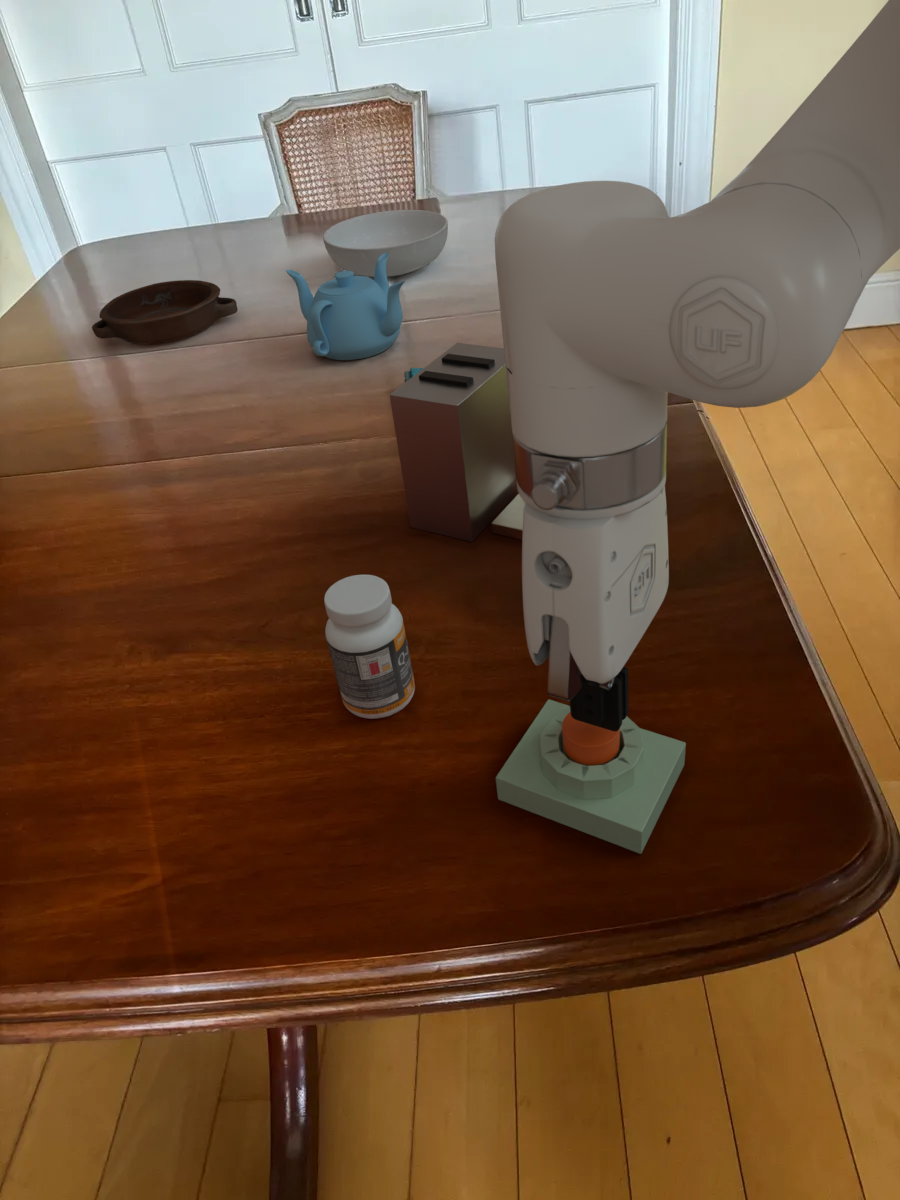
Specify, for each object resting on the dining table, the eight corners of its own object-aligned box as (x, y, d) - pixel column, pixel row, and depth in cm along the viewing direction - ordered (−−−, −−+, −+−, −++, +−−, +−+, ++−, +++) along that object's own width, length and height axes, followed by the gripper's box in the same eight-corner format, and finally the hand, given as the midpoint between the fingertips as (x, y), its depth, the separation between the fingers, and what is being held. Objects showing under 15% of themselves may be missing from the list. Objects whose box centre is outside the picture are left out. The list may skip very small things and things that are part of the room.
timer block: (684, 765, 60) (687, 723, 58) (641, 854, 55) (642, 812, 53) (549, 720, 65) (547, 680, 62) (497, 799, 60) (493, 758, 57)
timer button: (627, 734, 58) (628, 715, 57) (606, 773, 56) (606, 753, 55) (576, 718, 60) (576, 699, 59) (553, 754, 57) (552, 735, 56)
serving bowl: (313, 292, 147) (304, 249, 142) (352, 252, 162) (345, 212, 158) (435, 289, 142) (430, 244, 137) (463, 247, 157) (459, 206, 153)
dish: (99, 325, 145) (88, 295, 142) (235, 299, 148) (227, 268, 145) (95, 364, 131) (83, 331, 128) (244, 334, 135) (236, 301, 132)
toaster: (529, 480, 92) (521, 346, 83) (472, 542, 84) (457, 400, 75) (470, 469, 95) (456, 338, 86) (410, 527, 87) (388, 390, 78)
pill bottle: (426, 706, 67) (408, 602, 61) (354, 732, 66) (328, 628, 60) (401, 661, 72) (383, 560, 66) (333, 685, 70) (307, 584, 64)
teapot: (308, 375, 120) (292, 299, 113) (299, 336, 131) (284, 265, 125) (415, 355, 121) (405, 279, 115) (397, 318, 133) (387, 247, 127)
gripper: (600, 549, 38) (609, 825, 49) (710, 400, 48) (697, 658, 59) (450, 518, 42) (490, 782, 53) (581, 385, 51) (591, 632, 62)
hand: (599, 716), depth 56 cm, fingers closed
